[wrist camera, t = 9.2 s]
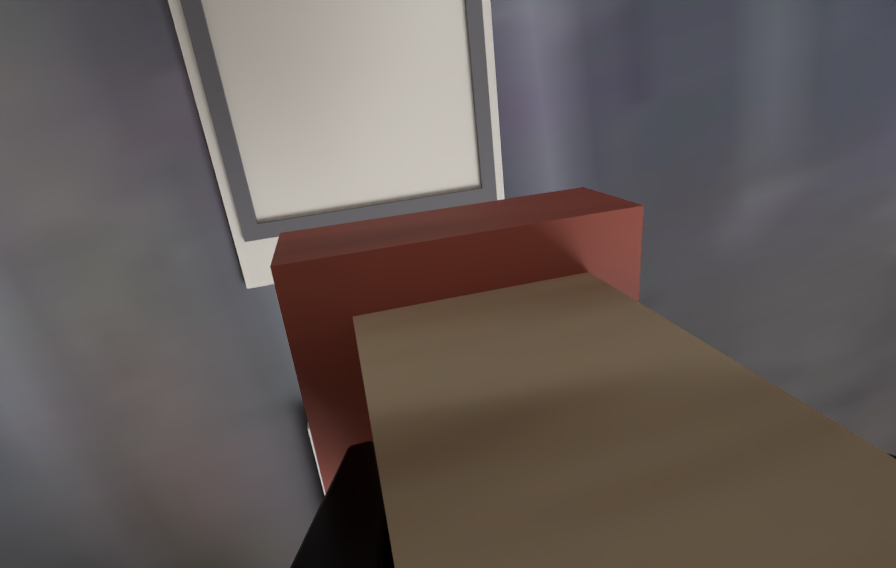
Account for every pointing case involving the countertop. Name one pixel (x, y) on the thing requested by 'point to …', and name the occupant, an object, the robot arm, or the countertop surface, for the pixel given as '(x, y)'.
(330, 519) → the robot arm
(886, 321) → the countertop surface
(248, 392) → the countertop surface
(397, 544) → the stamp
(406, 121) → the print sheet
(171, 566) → the countertop surface
